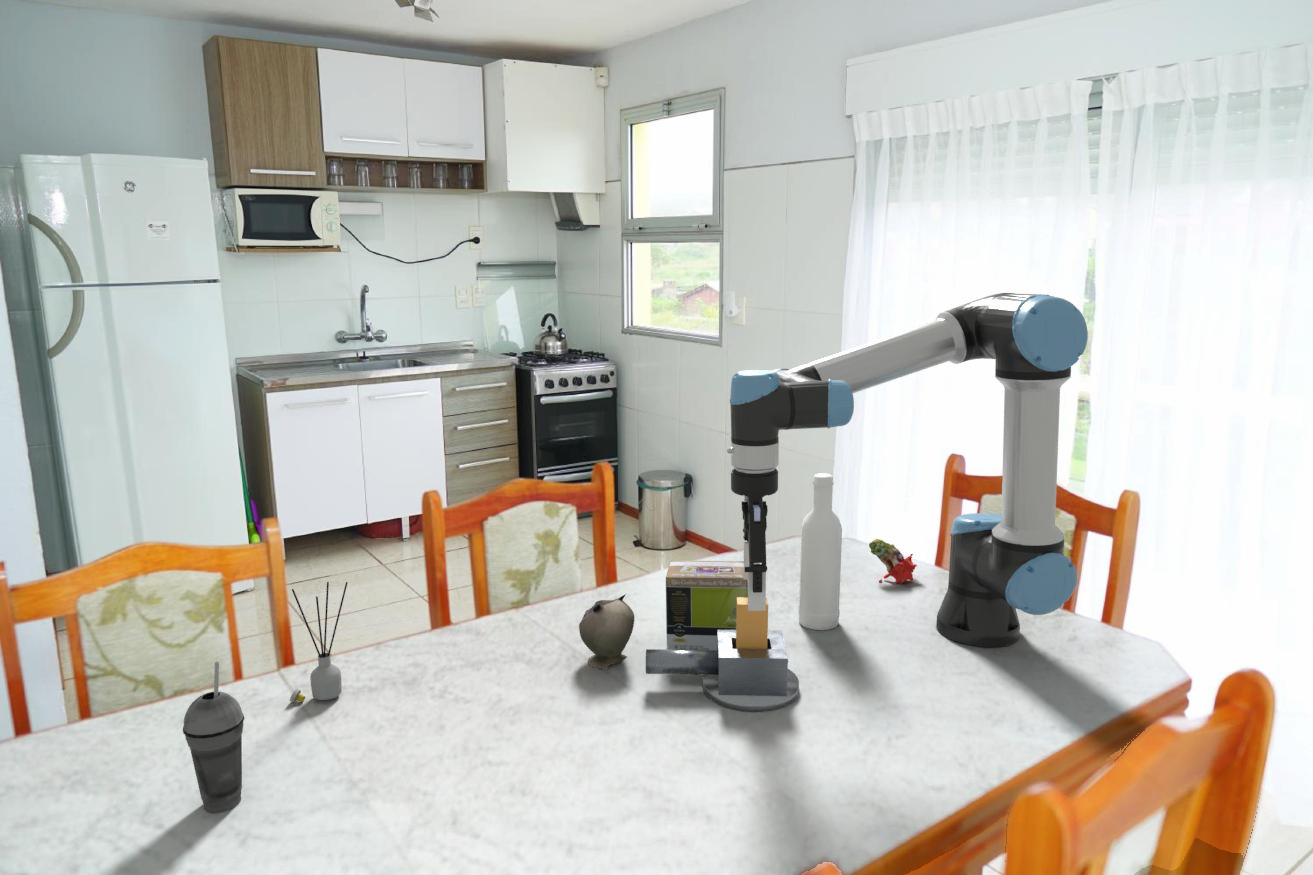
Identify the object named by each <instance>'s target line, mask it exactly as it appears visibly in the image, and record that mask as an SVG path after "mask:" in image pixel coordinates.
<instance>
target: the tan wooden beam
mask: <svg viewBox="0 0 1313 875" xmlns="http://www.w3.org/2000/svg"><path fill="white" fill-rule="evenodd" d="M768 630H769V601H768V597H766V611H748V597H737V610H736V649H767V640H768Z"/></svg>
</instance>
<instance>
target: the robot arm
mask: <svg viewBox="0 0 1313 875" xmlns="http://www.w3.org/2000/svg"><path fill="white" fill-rule="evenodd" d="M1084 317H1085V316H1084V314H1083V313H1082V311H1080V310H1079V308H1078V307H1077V306H1076V305H1074V303H1072V302H1071V301H1069V300H1067V299H1065V298H1062V297H1058V296H1054V295H1053V296H1052V295H1050V294H1038V293H1036V294H1035V293H1013V292H1001V293H995V294H991V295H987V296H985V297H981V298H979V299H976V300H973V301H970V302H967V303H964V304H962V305H959V306H956V307H953V308H951V309H948V310H944V311H942V312H940V313H938V315H937V316H936V318H935V320H933V321H930V322H928V323H927V322H926V323H925V324H921V325H918V326H916V327H912V328H910V329H907V330H904V331H901V332H898V333H895V334H891V335H889V336H885V337H883V338H880V339H877V340H874V341H870V342H868V343H865V344H863V345H859V346H856V347H853V348H851V349H848V350H844V351H842V352H839V353H838V352H837V353H835V354H832V355H829V356H827V357H824V358H821V359H818V360H814V361H812V362H809V363H806V364H802V365H799V366H797V367H793V368H790V369H789V368H776V369H772V370H768V369H761V370H760V369H747V370H746V369H745V370H739V371H737V372H736V373H734V374H733V375H732V378H731V383H730V384H731V385H730V398H729V404H730V434H731V436H730V442H731V444H730V445H731V447H727V449H726V453H728V454H730V459H731V460H730V462H731V463H730V464H731V467H732V469H731V470H730V490H731V491H732V492H733V493H734V494H736V495H738V496H742V497H744V499H743V500H741V512H742V520H743V528H742V532H743V537H742V538H743V540H744V541H743V561H744V580H748V611H766V598H767V596H766V595H767V592H766V591H767V588H766V587H767V586H766V585H767V584H766V582H767V579H766V576H767V571H768V566H767V547H766V546H767V544H766V543H767V540H766V536H767V534H766V532H767V528H768V525H767V516H768V512H769V511H768V505H767V500H763V498H764V497H765V496H772V495H774V494H776V493H777V492H778V490H779V471H778V469H777V468H778V466H779V464H780V463H779V459H780V458H779V456H780V455H779V454H780V452H779V451H780V448H779V445H780V443H779V442H780V441H779V432H780V430H781V431H783V430H784V431H787V430H802V429H824V428H827V429H831V428H835V427H836V428H837V427H844V426H846V425H848V424H849V423H850V421H851V420H852V417H853V414H854V408H855V401H854V400H855V399H854V394H856V393H858V392H861V391H864V390H867V389H871V388H873V387H876V386H879V385H882V384H885V383H888V382H891V381H893V380H897V379H899V378H903V377H906V376H908V375H912V374H915V373H917V372H918V373H919V372H921V371H923V370H927V369H929V368H932V367H935V366H938V365H941V364H944V363H947V362H950V363H952V364H955V365H959V364H962V363H964V362H968V361H972V360H980V359H982V360H983V359H985V360H986V359H989V360H995V367H994V368H995V370H994V371H995V372H994V373H995V374H994V375H995V379H996V380H997V381H998V382H1000V384H1002V386H1003V387H1004V396H1003V397H1004V401H1003V402H1004V403H1003V404H1004V405H1003V406H1004V407H1003V410H1004V411H1003V435H1002V436H1003V441H1002V442H1003V443H1002V446H1003V447H1002V479H1001V480H1002V481H1001V482H1002V483H1001V485H1002V486H1001V513H1000V514H999V513H989V512H988V513H987V512H986V513H984V512H983V513H981V512H979V513H975V512H974V513H966V514H961V515H960V514H959V516H956V517H955V518H954V519H953V522H952V526H951V531H950V550H949V551H950V553H949V566H948V567H949V569H948V583H947V585H948V587H947V591H946V593H945V594H944V598H943V600H942V602H941V605H940V607H939V609H938V612H937V614H936V626H935V627H936V629H937V631H938V632H939V633H940V634H942V635H943V636H944V637H946V638H948V639H950V640H953V641H956V642H958V643H961V644H965V645H969V646H977V647H987V648H995V647H996V648H997V647H998V648H999V647H1005V646H1009V645H1013V644H1014V643H1016V642H1017V641H1018V640H1019V639H1020V630H1021V624H1020V620H1019V616H1018V612H1017V610H1020V611H1022V612H1024V613H1026V614H1028V615H1032V616H1044V615H1047V614H1051V613H1052V612H1055V611H1057V610H1058V609H1060V608H1062V606H1063V605H1064V603H1067V602H1068V601H1069V600H1070V599H1071V597H1072V595H1073V594H1074V592H1075V590H1076V587H1077V583H1078V572H1077V568H1076V566H1075V564H1074V563H1073V562H1072V560H1071V559H1070V558H1069V557H1068V556H1066V555H1064V554H1065V550H1064V549H1065V533H1064V532H1063V530H1061V529H1060V528H1059V527H1058V526H1057V525H1056V514H1057V513H1056V510H1057V509H1056V508H1057V483H1058V482H1057V481H1058V459H1059V458H1058V455H1059V454H1058V453H1059V431H1060V430H1059V429H1060V426H1059V425H1060V402H1061V400H1060V398H1061V387H1062V386H1063V385H1064V384H1065V383H1066V382H1068V380H1069V379H1071V376H1072V375H1071V374H1072V366H1074V365H1075V364H1076V363H1077V362H1078V361H1080V358H1079V357H1080V356H1083V354H1084V352H1085V350H1086V347H1087V344H1088V339H1089V338H1088V337H1089V334H1088V333H1089V332H1088V331H1089V330H1088V325H1087V322H1086V319H1085V318H1084Z"/></svg>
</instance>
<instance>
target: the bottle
mask: <svg viewBox="0 0 1313 875" xmlns="http://www.w3.org/2000/svg"><path fill="white" fill-rule="evenodd" d="M834 483H835V482H834V476H833V475H832V474H830V473H825V472H823V473H821V472H820V473H816V474H814V475H813V480H812V485H813V486H812V487H813V493H812V510H811V511H810V512H808V513H807V514H806V515H805V516H804V519H803V520H802V524H801V527H800V529H801V530H800V562H799V563H800V564H799V568H800V569H799V597H798V598H799V600H798V601H799V602H798V603H799V604H798V609H797V610H798V614H797V615H798V622H799V624H800V625H801V626H803V627H804V628H807V629H809V630H813V631H814V630H815V631H829V630H833V629H834V628H836V627H838V626H839V624H840V623H839V622H840V620H839V619H840V614H841V613H840V612H841V611H840V610H841V609H840V596H841V592H840V590H841V573H842V572H841V569H842V567H841V565H842V541H843V527H842V523H841V520H840V517H839V516H838V515H837V514H836V513H835V512H834V511H833V491H834V490H833V488H834V487H833V486H834Z"/></svg>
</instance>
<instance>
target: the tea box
mask: <svg viewBox="0 0 1313 875" xmlns="http://www.w3.org/2000/svg"><path fill="white" fill-rule="evenodd" d="M737 597H748V580H744V560H743V561H742V560H738V561H737V560H736V561H734V560H733V561H732V560H725V561H724V560H675V559H673V560H670V561H669V564H668V567H667V572H666V575H665V613H666V614H665V616H666V618H665V621H666V623H665V624H666V625H665V626H666V629H665V630H666V650H717V630H736V610H737Z"/></svg>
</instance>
